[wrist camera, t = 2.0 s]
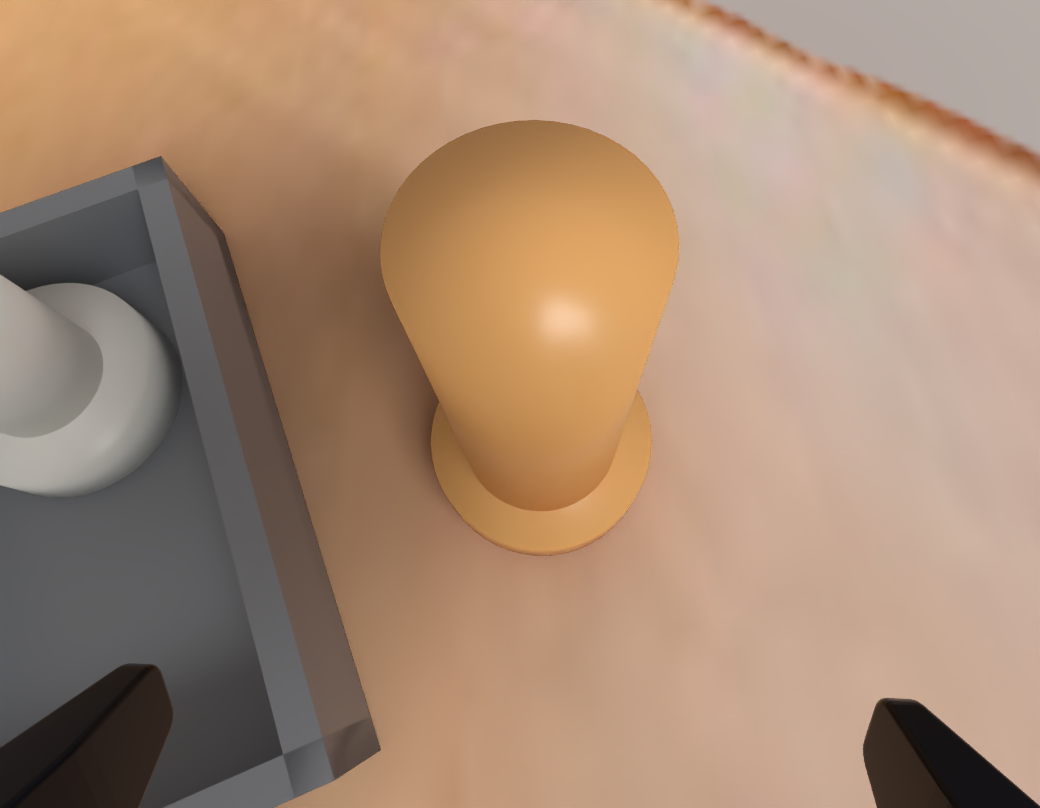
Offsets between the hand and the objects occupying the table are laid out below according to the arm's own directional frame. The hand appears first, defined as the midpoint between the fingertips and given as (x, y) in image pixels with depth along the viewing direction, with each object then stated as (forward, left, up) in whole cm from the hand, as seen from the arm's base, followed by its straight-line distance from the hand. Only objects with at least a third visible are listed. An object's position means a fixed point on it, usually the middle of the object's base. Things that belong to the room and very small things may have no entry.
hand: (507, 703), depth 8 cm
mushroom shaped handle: (+5, -4, -13) cm, 15 cm away
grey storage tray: (+12, +9, -13) cm, 20 cm away
